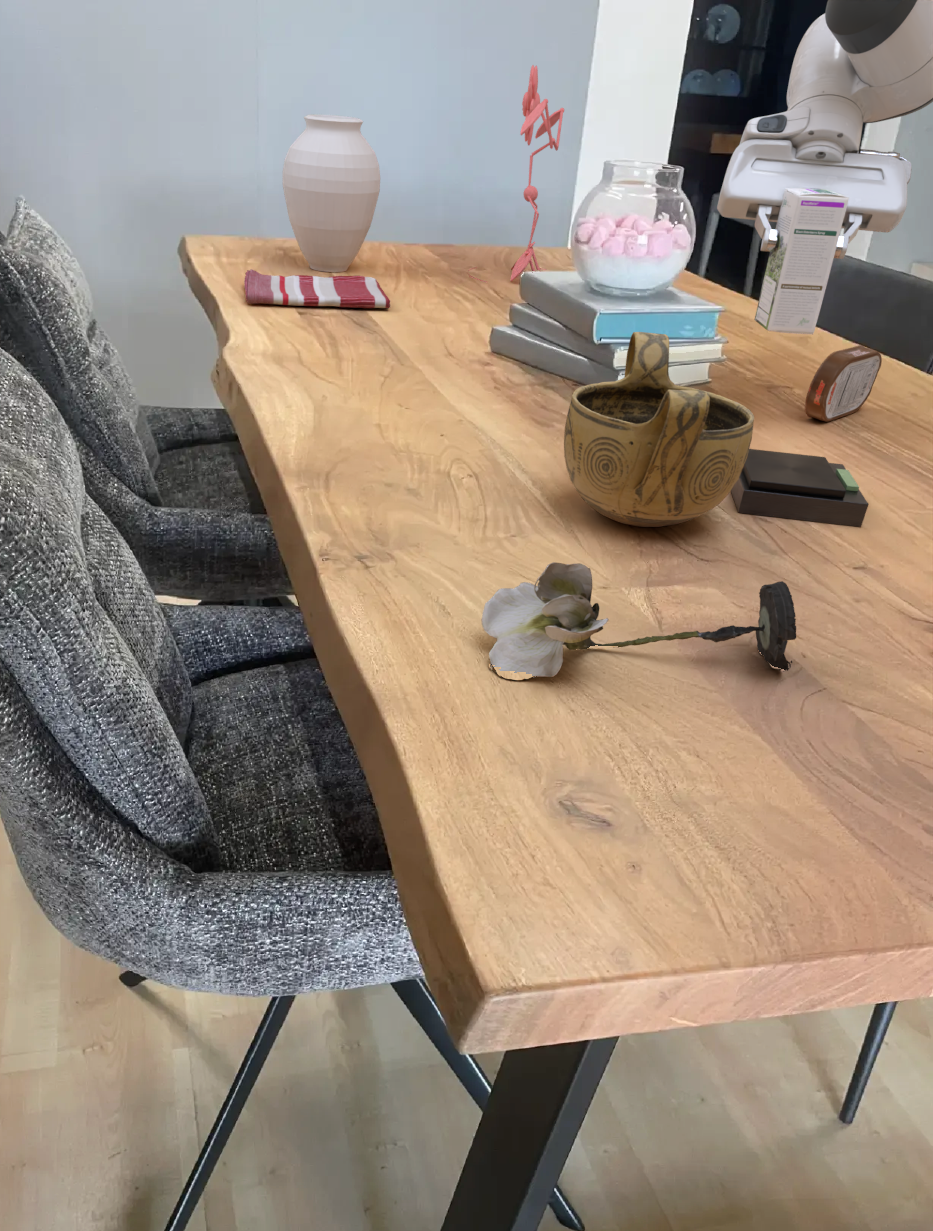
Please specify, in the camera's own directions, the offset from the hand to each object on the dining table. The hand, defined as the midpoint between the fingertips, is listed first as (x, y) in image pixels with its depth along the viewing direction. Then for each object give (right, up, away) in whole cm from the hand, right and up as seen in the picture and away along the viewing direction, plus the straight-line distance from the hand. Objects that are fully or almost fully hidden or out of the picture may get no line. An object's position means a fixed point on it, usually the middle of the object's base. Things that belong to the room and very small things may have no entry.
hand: (802, 251), depth 119 cm
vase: (-58, +33, +81) cm, 105 cm away
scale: (-5, -30, -9) cm, 32 cm away
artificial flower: (-29, -49, -41) cm, 70 cm away
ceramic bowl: (-22, -33, -16) cm, 43 cm away
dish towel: (-59, +18, +58) cm, 85 cm away
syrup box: (0, -7, +5) cm, 9 cm away
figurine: (-24, +34, +86) cm, 96 cm away
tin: (+11, -13, +19) cm, 26 cm away
